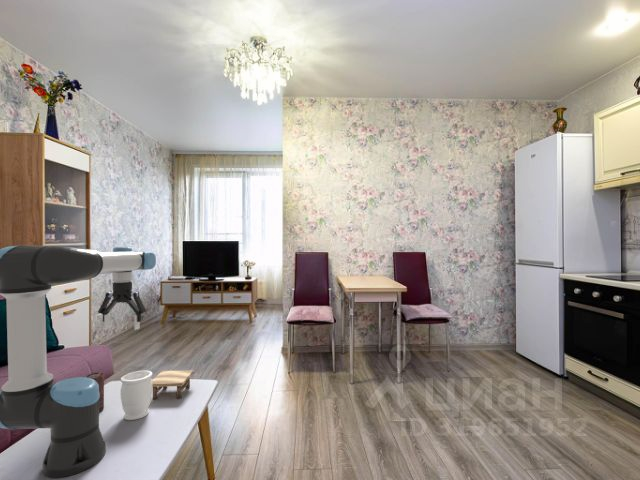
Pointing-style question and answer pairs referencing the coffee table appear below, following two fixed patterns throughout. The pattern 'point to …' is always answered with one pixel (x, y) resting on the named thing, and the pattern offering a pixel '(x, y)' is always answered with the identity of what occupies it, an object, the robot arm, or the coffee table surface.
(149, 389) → the jar
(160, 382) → the stool
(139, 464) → the coffee table surface
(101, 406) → the can
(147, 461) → the coffee table surface
